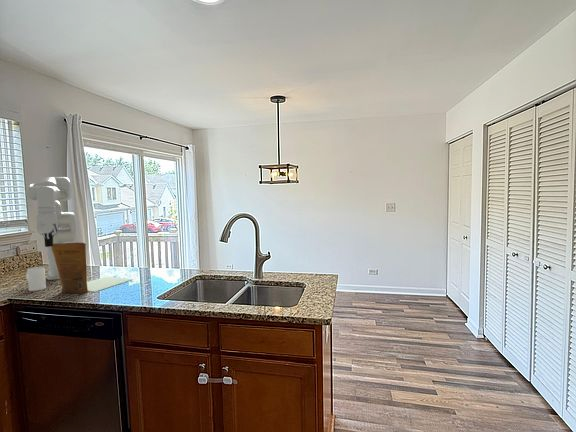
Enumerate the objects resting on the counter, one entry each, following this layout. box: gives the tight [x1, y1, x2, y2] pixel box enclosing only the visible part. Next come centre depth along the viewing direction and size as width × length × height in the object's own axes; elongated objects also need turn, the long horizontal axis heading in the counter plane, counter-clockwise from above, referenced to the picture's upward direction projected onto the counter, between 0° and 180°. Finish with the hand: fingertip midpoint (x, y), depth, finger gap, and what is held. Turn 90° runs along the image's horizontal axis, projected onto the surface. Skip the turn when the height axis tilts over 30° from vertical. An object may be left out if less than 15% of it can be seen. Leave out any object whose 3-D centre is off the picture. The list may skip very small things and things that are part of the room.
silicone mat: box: [87, 276, 134, 293], centre depth 206 cm, size 22×27×1 cm
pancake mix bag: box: [51, 242, 89, 295], centre depth 189 cm, size 7×19×28 cm, turn 81°
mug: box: [25, 266, 47, 292], centre depth 199 cm, size 12×8×12 cm
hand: (49, 246), depth 177 cm, fingers closed
